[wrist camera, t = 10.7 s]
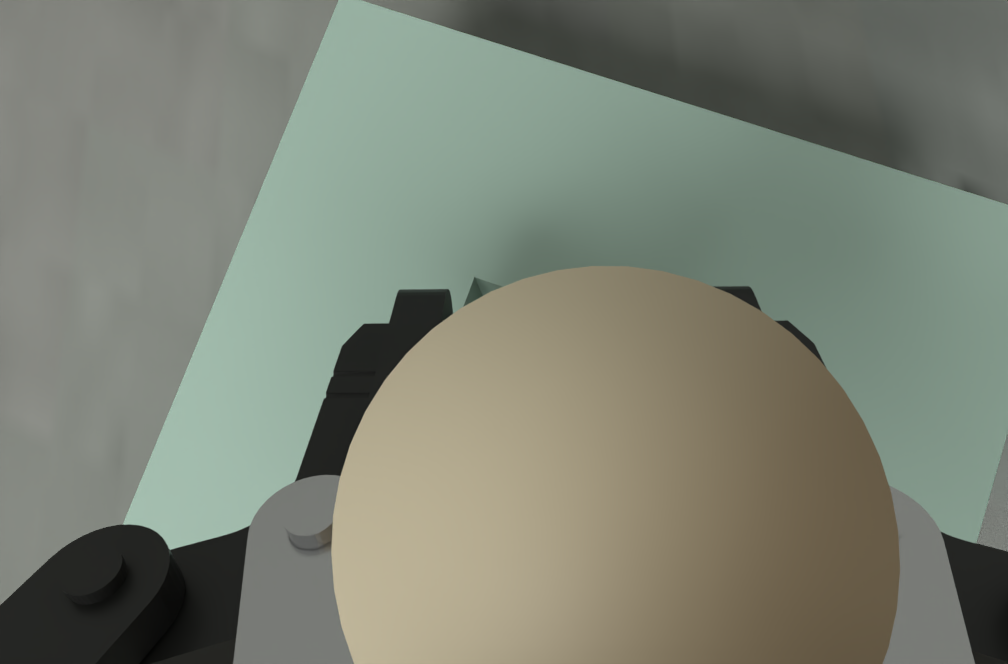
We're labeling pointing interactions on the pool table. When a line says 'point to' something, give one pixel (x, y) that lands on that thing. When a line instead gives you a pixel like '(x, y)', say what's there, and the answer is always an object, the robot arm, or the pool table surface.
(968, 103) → the pool table surface
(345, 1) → the socket block
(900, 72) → the pool table surface
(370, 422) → the pin
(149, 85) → the pool table surface
